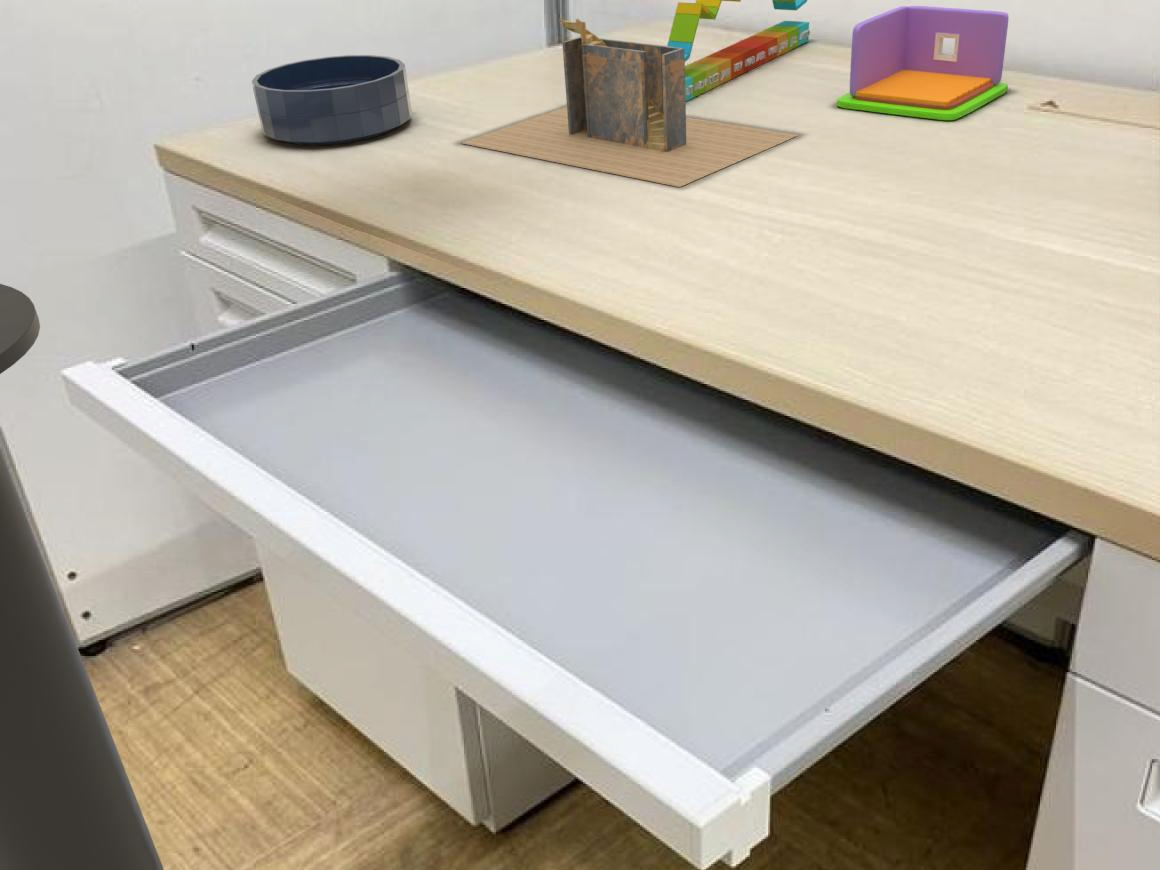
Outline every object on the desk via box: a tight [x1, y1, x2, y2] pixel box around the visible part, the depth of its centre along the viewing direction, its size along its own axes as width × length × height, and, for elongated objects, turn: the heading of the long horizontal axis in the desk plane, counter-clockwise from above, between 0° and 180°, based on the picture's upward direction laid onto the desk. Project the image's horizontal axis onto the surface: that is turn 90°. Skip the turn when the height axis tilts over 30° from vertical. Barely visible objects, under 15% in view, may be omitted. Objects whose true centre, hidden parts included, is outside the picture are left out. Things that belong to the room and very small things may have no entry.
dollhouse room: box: [836, 5, 1009, 121], centre depth 111 cm, size 12×12×7 cm
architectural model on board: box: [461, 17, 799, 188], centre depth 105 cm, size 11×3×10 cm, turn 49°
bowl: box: [251, 54, 413, 146], centre depth 116 cm, size 14×14×5 cm
